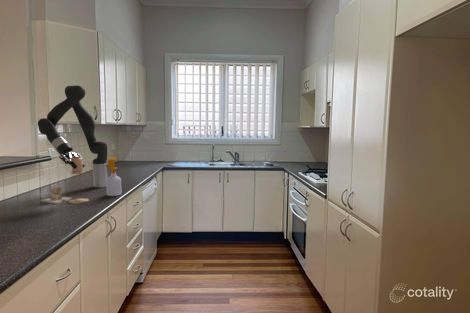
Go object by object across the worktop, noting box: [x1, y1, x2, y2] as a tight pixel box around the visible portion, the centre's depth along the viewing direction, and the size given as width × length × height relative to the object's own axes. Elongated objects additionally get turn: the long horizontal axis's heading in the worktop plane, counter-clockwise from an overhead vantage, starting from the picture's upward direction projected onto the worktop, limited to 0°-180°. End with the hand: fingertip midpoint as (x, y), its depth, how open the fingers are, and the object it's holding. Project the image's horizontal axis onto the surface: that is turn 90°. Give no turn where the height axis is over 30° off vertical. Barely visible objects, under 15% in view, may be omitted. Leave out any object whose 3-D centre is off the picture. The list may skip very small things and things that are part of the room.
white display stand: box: [39, 186, 74, 205], centre depth 182 cm, size 12×12×8 cm
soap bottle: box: [105, 156, 123, 197], centre depth 198 cm, size 9×9×25 cm
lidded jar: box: [71, 156, 84, 175], centre depth 178 cm, size 6×6×10 cm
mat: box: [68, 198, 90, 205], centre depth 181 cm, size 11×11×1 cm
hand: (79, 167), depth 178 cm, fingers closed on lidded jar, 5 cm apart
